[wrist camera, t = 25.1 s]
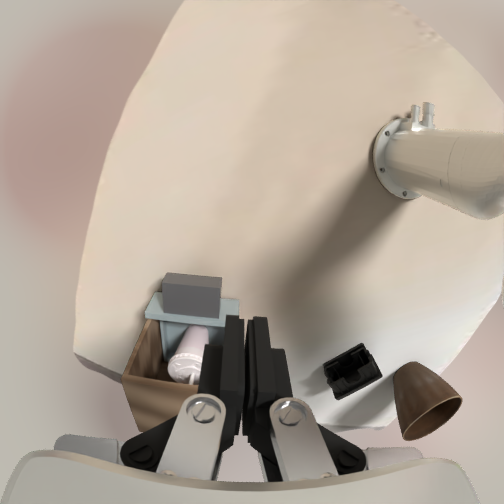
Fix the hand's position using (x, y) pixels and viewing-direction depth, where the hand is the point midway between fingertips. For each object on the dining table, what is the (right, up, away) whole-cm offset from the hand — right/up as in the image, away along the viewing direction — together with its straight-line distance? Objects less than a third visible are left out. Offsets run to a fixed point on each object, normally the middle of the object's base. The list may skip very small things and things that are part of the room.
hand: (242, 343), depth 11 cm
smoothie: (-9, -9, +34) cm, 36 cm away
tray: (-9, -7, +33) cm, 35 cm away
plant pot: (+37, -25, +43) cm, 62 cm away
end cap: (+20, -19, +40) cm, 48 cm away
